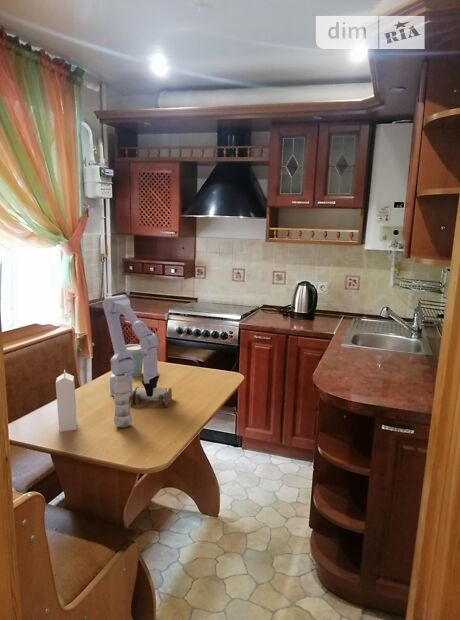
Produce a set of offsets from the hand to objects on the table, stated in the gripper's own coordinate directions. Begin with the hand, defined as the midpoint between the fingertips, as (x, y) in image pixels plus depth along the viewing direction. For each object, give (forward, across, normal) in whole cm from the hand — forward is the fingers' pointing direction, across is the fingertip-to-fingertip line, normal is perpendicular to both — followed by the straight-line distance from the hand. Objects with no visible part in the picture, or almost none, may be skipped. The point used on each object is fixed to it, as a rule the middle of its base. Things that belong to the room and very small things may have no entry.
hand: (151, 393), depth 190 cm
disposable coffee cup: (+4, +35, +18) cm, 39 cm away
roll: (+2, 0, 0) cm, 2 cm away
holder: (+4, 0, 0) cm, 4 cm away
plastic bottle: (+4, -23, +5) cm, 24 cm away
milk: (+4, -26, +25) cm, 36 cm away
